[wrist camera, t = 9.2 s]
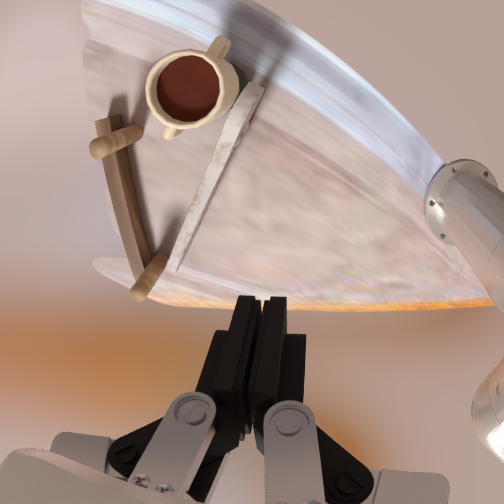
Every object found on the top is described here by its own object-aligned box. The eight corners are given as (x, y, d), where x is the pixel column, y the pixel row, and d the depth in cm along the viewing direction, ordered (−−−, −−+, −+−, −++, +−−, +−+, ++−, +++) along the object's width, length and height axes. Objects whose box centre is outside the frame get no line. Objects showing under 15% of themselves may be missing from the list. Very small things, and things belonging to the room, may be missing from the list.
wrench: (177, 249, 50) (259, 76, 31) (187, 254, 50) (273, 83, 31) (156, 282, 43) (243, 82, 25) (167, 288, 43) (261, 91, 25)
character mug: (219, 36, 29) (179, 16, 18) (271, 62, 30) (255, 51, 19) (177, 110, 35) (123, 126, 24) (225, 136, 36) (189, 163, 25)
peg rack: (139, 110, 35) (100, 121, 28) (172, 275, 48) (150, 312, 41) (107, 117, 36) (66, 130, 29) (143, 273, 49) (119, 308, 42)
